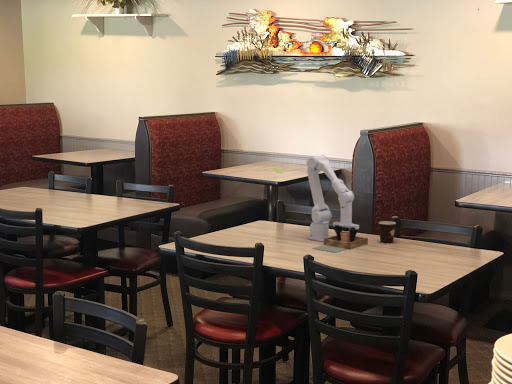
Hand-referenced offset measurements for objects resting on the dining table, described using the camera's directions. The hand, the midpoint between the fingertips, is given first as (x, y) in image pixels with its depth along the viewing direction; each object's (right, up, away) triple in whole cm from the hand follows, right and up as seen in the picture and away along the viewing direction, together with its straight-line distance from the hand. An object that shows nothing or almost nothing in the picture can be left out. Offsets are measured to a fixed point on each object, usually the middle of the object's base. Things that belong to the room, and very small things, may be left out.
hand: (345, 241), depth 345 cm
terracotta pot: (0, -2, 0) cm, 2 cm away
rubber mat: (-10, -3, -10) cm, 15 cm away
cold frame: (0, -1, 0) cm, 1 cm away
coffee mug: (+23, -1, +5) cm, 24 cm away
